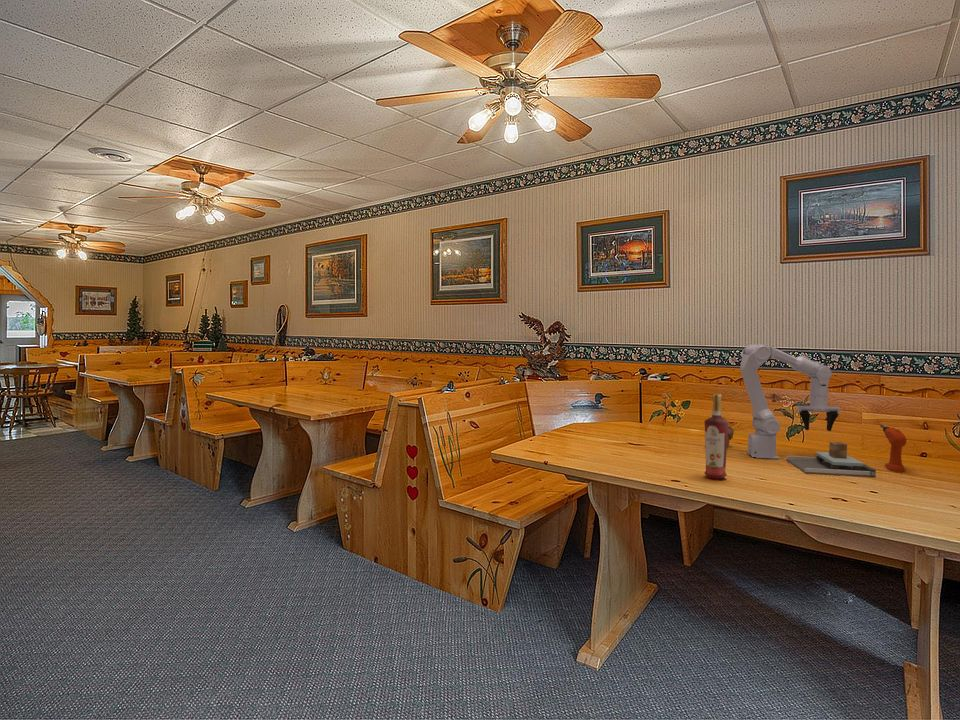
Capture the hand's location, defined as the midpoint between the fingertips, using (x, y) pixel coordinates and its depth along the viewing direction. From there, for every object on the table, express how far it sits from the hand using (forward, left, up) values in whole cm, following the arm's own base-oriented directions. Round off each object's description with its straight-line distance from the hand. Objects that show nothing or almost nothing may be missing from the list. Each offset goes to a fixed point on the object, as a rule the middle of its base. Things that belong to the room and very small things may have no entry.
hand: (817, 430), depth 204 cm
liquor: (-44, -41, -11) cm, 61 cm away
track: (-3, -19, -10) cm, 22 cm away
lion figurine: (-33, +10, -11) cm, 37 cm away
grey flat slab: (0, -19, -10) cm, 22 cm away
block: (0, -19, -6) cm, 20 cm away
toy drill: (+20, -11, -11) cm, 25 cm away
